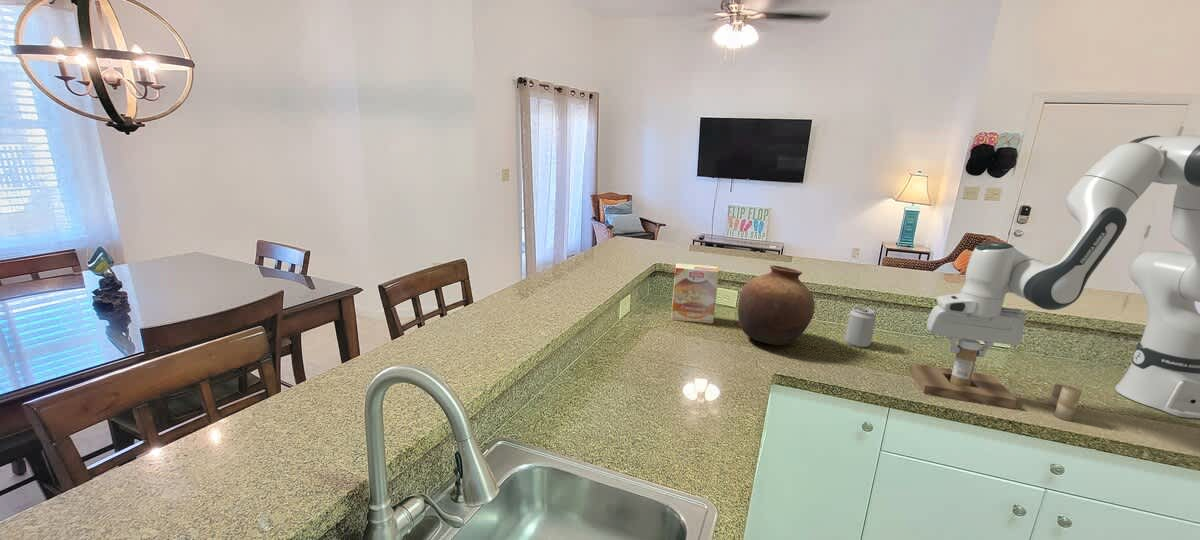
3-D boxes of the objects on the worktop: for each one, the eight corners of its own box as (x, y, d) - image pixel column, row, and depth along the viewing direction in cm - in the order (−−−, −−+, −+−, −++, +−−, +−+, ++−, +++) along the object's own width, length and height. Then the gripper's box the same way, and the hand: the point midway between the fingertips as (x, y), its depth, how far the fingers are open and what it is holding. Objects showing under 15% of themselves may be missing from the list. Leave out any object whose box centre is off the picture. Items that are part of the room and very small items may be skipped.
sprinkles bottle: (972, 388, 129) (984, 342, 126) (964, 392, 127) (976, 345, 124) (953, 381, 133) (964, 336, 130) (945, 385, 131) (956, 338, 128)
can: (871, 343, 159) (877, 308, 156) (869, 350, 153) (876, 315, 150) (845, 337, 163) (852, 303, 160) (843, 344, 157) (849, 309, 153)
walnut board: (990, 383, 134) (992, 375, 133) (1014, 409, 121) (1017, 400, 120) (908, 370, 140) (910, 362, 139) (923, 393, 127) (925, 385, 126)
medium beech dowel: (1069, 415, 119) (1077, 387, 117) (1076, 422, 116) (1084, 394, 114) (1051, 412, 120) (1059, 385, 118) (1058, 419, 117) (1066, 391, 115)
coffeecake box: (670, 320, 172) (675, 267, 167) (671, 313, 179) (675, 262, 174) (713, 324, 170) (719, 270, 165) (712, 317, 177) (717, 265, 172)
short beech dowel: (1062, 403, 125) (1067, 385, 124) (1069, 409, 122) (1075, 391, 121) (1046, 400, 126) (1051, 383, 125) (1053, 406, 123) (1058, 389, 122)
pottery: (729, 347, 151) (739, 270, 145) (739, 323, 172) (747, 255, 165) (808, 362, 143) (821, 281, 136) (808, 334, 164) (819, 263, 157)
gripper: (1022, 306, 124) (1008, 355, 128) (930, 296, 130) (920, 343, 134) (1035, 314, 118) (1020, 366, 122) (938, 303, 124) (927, 352, 128)
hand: (966, 354), depth 128 cm, fingers closed on sprinkles bottle, 4 cm apart
